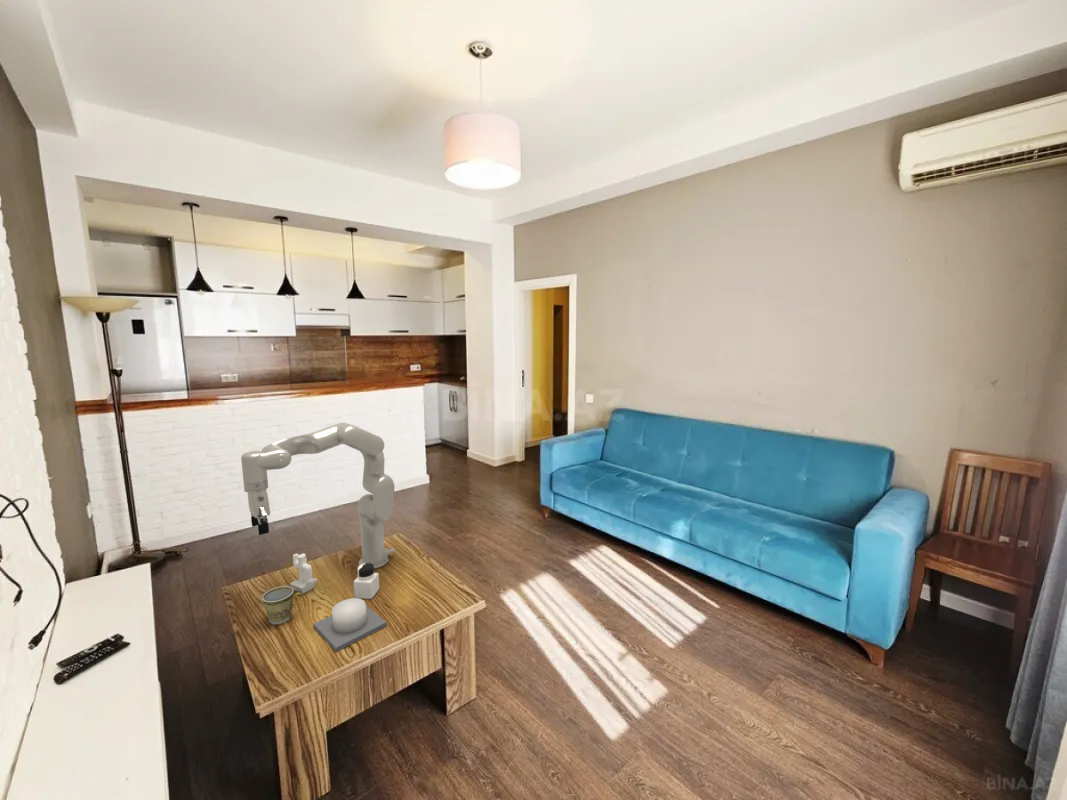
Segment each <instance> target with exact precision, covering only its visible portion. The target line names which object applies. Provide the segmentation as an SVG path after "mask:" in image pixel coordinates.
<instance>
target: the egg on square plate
mask: <svg viewBox="0 0 1067 800" xmlns="http://www.w3.org/2000/svg"><path fill="white" fill-rule="evenodd" d="M386 627H387V621H386V620H384V619H383V618H382V617H381V616H380V615H379V614H378V613H376V612H375V611H374V610H373V609H372V608H370V607H369V606H368V605H367V604H366V601H365V599H364V600H363V598H355V597H351V598H347V599H344V600H342V601H341V600H340V601H339V602H337V603H336V604H335V605H334V606H333V607H332V609H331V615H329V616H328V617H325V618H323V619H321V620H318V621H316V622H313V628H314V631H316V632H317V633H318V634H319V636H321V638H323V639H324V641H326V643H327V644H328V645H329V646H330V648H331V649H333V650H334V652H335V653H337V652H339V651H342V650H343V649H345V648H347V647H349V646H350V645H353V644H354V643H357V642H359V641H360V640H363V639H365V638H366V637H368V636H370V635H372V634H374V633H376V632H378V631H380V630H381V629H384V628H386Z"/></svg>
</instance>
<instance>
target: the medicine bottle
mask: <svg viewBox="0 0 1067 800" xmlns="http://www.w3.org/2000/svg"><path fill="white" fill-rule="evenodd" d="M379 576H380V575H379V573H378V572H375V569H374V565H373V564H371V563H364V564H361V565H360V566H359V565H358V567H357V578H355V579H354V580H353V595H354V596H353V598H359V599H364V600H365V599H366V600H372V599H373V598H374V597H375V595H376V594H377V592H378V591H379V590H380V580H379V578H380V577H379Z"/></svg>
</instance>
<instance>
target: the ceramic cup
mask: <svg viewBox="0 0 1067 800" xmlns="http://www.w3.org/2000/svg"><path fill="white" fill-rule="evenodd" d="M297 595H301V598H299V599H297V601H296V602H295V603H294V604H293V601H294V598H295V597H296V596H297ZM303 598H304V595H303V594H302V593H301V592H297V591H296V592H295V589H294V588H293V587H292V586H291V585H290V586H289V585H283V586H282V585H281V586H280V585H279V586H277V587H273V588H271V589H269V590H267V591H266V592H264V594H262V597H261V599H262V604H263V607H264V609H265V612H266V616H267V618H268V621H269V623H270V624H272V625H274V626H275V625H282V624H284V623H286V622H287V621H289V620H290V619H291V615H292V610H293V608H294V606H296V604H298V602H300V601H301V600H302V599H303Z"/></svg>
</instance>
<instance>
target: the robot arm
mask: <svg viewBox="0 0 1067 800" xmlns="http://www.w3.org/2000/svg"><path fill="white" fill-rule="evenodd" d="M340 445H345V446H347V447H350V448H352V449H355V450H357V451H358V452H360V453H361V454H362V457H363V473H362V474H363V475H362V488H363V489H364V490H365V491H366V492H368V494H367V493H366V494H364V495H362V496H361V497H360V498H359V500H358V502H357V505H356V506H357V509H356V510H357V514H358V517H359V523H360V540H361V541H360V542H361V557H362V558H360V559H359V560H358V567H359V566H360V565H361V564H364V563H371V564H373V565H374V570H375V569H378V568H381V567H383V566H385V565H386V564H388V562H389V555H391V554H392V553H394V552H395V548H394V547H393V548H389V547H386V548H385V539H384V537H385V536H384V535H385V534H384V522H386V521H388V519H389V518H390V517H391V516H392V513H393V508H394V499H395V498H394V496H395V488H396V487H395V482H394V480H393V478H392V477H391V476H389V475H387V474H385V456H384V455H385V454H384V452H383V451H384V449H385V442H384V440H383V438H381V437H380V436H378V435H376V434H375V433H372V432H371V431H370V432H369V431H368V430H365V429H363V428H361V427H359V426H356V425H354V424H351V423H346V422H338V423H336V424H333V425H329V426H327V427H325V428H322V429H319V430H316V431H313V432H310V433H305V434H301V435H296V436H292V437H288V438H284V439H281V440H277V441H275V442H272V443H270V444H267V445H265V446H264V447H262V449H261V450H251V451H247V452H244V453H243V454H242V455H241V459H240V461H241V469H242V478H243V479H242V480H243V490H244V491H243V492H245V493H247V500H248V508H249V512H250V519H251V520H250V521H251V527H257V529H258V530H257V531H258V535H259V536H261V535H265V534H268V533H269V532H270V527H269V520H268V519H269V518H268V516H270V515H271V509H270V501H269V496H268V489H269V478H268V471H269V470H270V471H272V470H281V469H284V468H287V467H288V466H289V465H290V464H291V463H292V457H293V456H297V455H314V454H316V455H317V454H320V453H323V452H324V451H328V450H330V449H333V448H335V447H338V446H340Z"/></svg>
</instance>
